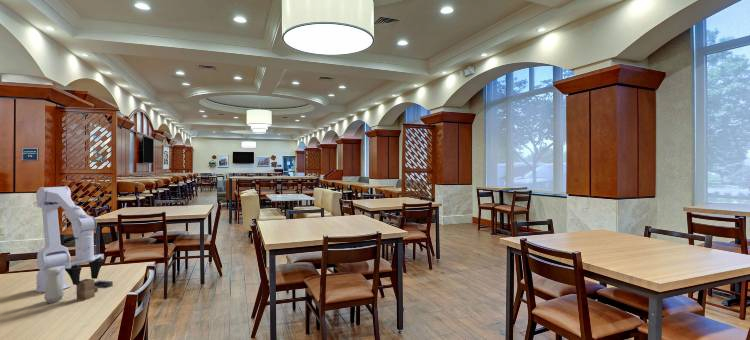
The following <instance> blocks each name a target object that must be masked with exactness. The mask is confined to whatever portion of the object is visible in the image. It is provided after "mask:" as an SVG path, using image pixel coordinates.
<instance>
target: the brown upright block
mask: <svg viewBox="0 0 750 340" xmlns="http://www.w3.org/2000/svg"><path fill="white" fill-rule="evenodd" d="M94 282H95V279H92V278H85V279H81V280H80V282H79V285H75V286H76V287H75V288H76V289H75V290H76V300H78V301H86V300H90V299H92V298H94V297H95V296H96V295H95V293H96V292H95V287H94Z"/></svg>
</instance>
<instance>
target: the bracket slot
mask: <svg viewBox="0 0 750 340" xmlns="http://www.w3.org/2000/svg"><path fill="white" fill-rule="evenodd" d="M113 283H114V281H113V280H101V279H100V280H96V281H94V287H95V293H97V292H99V291H98V290H99V287H104V288H105V287H106V288H107V287H108V288H111V287H113V286H114V284H113Z"/></svg>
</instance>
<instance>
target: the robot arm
mask: <svg viewBox="0 0 750 340" xmlns="http://www.w3.org/2000/svg"><path fill="white" fill-rule="evenodd" d="M36 191H37V192H36V193H35V197H36V205H37V206H36V207H38V208H40V209H41V212H42V213H41V215H42V225H43V236H44V247H43V248H42V249H41V250H39V251H38V252H37V255H36V267H37V268H38V269H39V271H38V272H37V274H36V278H35V279H36V280H35V281H36V282H35V283H36V289H35V290H34V292H38V293H39V292H40V293H45V291H46V286H47V281H48V276H49V275H47V274H46V272H47V270H48V269H50V268H55V267H59V268H61V273H60V274H59V276H60V280H61V285H62V288H63V290H65V289H67V288H71V287H72V286H71V285H69V284H66V273H67V274H68V275H69V277H70V280H71V282H72V285H73V286H76V285H79V282H80V281H81V280H80V279H81V277H80V275H81V272H82V267H80V266H82V265H84V264H88V265H89V269H90V279H94V280H96V279H98V277H99V274H100V270H101V268H102V266H103V264H104V262H105V260H104V259H105V255H104V253H99V254H95V242H94V241H95V240H94V234H95V233H94V231H95V230H96V229H97V225H98V224H97V220H96V218H95V216H91V215H88V214H87V213H86V211H85V210H83V208H82V207H81V206H80V205H76V204H75V203H74V201H73V199H72V198H71V196H72V191H71V189H70V187H69V186H67V185H64V186H52V187H51V186H49V187H46V186H45V187H43V186H41V187H39V188H38V189H37V190H36ZM60 207H61V208H62V209H63V210H64V216H65V217H66V218H67V219H68V221H69V222H70V224H71V230H72V232H73V233H72V234H73V237H74V239H75V241H74V242H75V244H74V246H75V259H73V260H71V254H70V252H69V248H68V247H67V246H64V245H62V244H61V243H62V242H61V233H60V224H59V223H60V221H59V212H58V209H59V208H60Z"/></svg>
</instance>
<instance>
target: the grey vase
mask: <svg viewBox="0 0 750 340" xmlns="http://www.w3.org/2000/svg"><path fill="white" fill-rule="evenodd" d="M60 273H61V268H59V267H55V268H50V269H48V270H47V272H46V274H47V275H49V276H48V281H47V286H46V291H45V292H44V295H43V298H44V300H45V302H46V303H47V304H54V303H53V302H55V303H58V302H60V300H61V301H62V300H63V297H64V295H65V293H64V289H63V288H62V285H61V280H60V276H59V274H60Z"/></svg>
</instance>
